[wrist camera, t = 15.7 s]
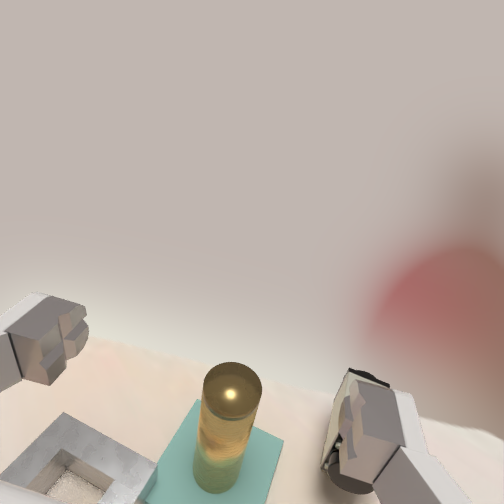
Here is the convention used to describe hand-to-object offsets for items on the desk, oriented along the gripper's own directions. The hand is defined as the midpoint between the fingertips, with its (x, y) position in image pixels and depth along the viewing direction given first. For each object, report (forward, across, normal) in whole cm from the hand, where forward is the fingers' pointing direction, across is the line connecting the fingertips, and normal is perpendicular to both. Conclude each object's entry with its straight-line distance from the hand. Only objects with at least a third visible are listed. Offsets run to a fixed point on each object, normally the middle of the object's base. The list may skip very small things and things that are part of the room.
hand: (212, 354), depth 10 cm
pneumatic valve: (+17, -14, +32) cm, 39 cm away
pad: (+12, 0, +32) cm, 34 cm away
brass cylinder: (+12, 0, +31) cm, 33 cm away
